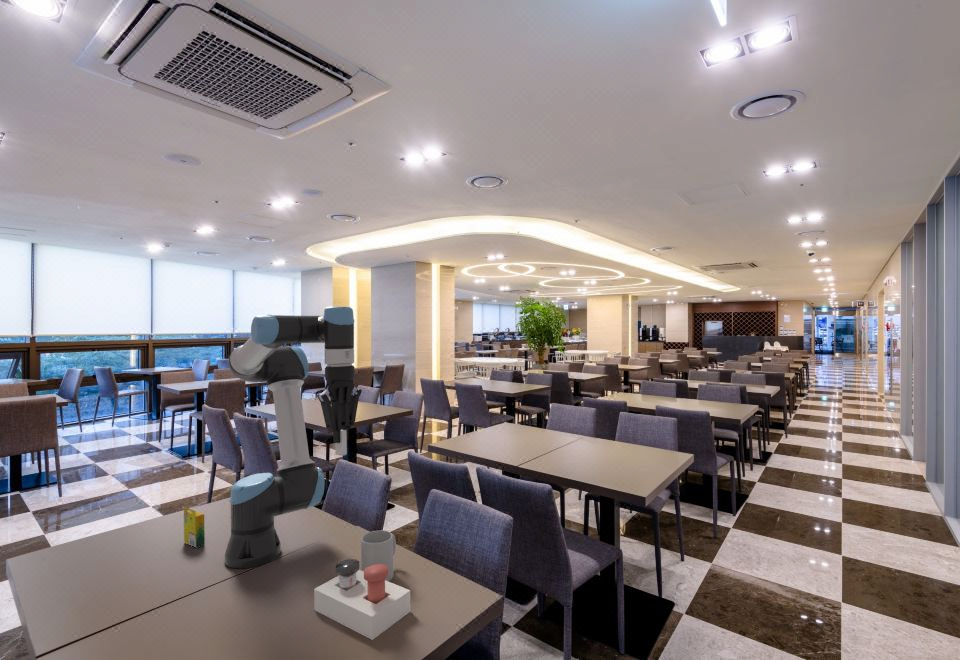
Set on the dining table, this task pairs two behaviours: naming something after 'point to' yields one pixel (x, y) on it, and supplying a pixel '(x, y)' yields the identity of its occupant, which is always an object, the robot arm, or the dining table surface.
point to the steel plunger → (347, 573)
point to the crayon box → (194, 528)
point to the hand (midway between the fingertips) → (341, 454)
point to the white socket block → (362, 605)
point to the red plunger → (376, 582)
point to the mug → (378, 550)
